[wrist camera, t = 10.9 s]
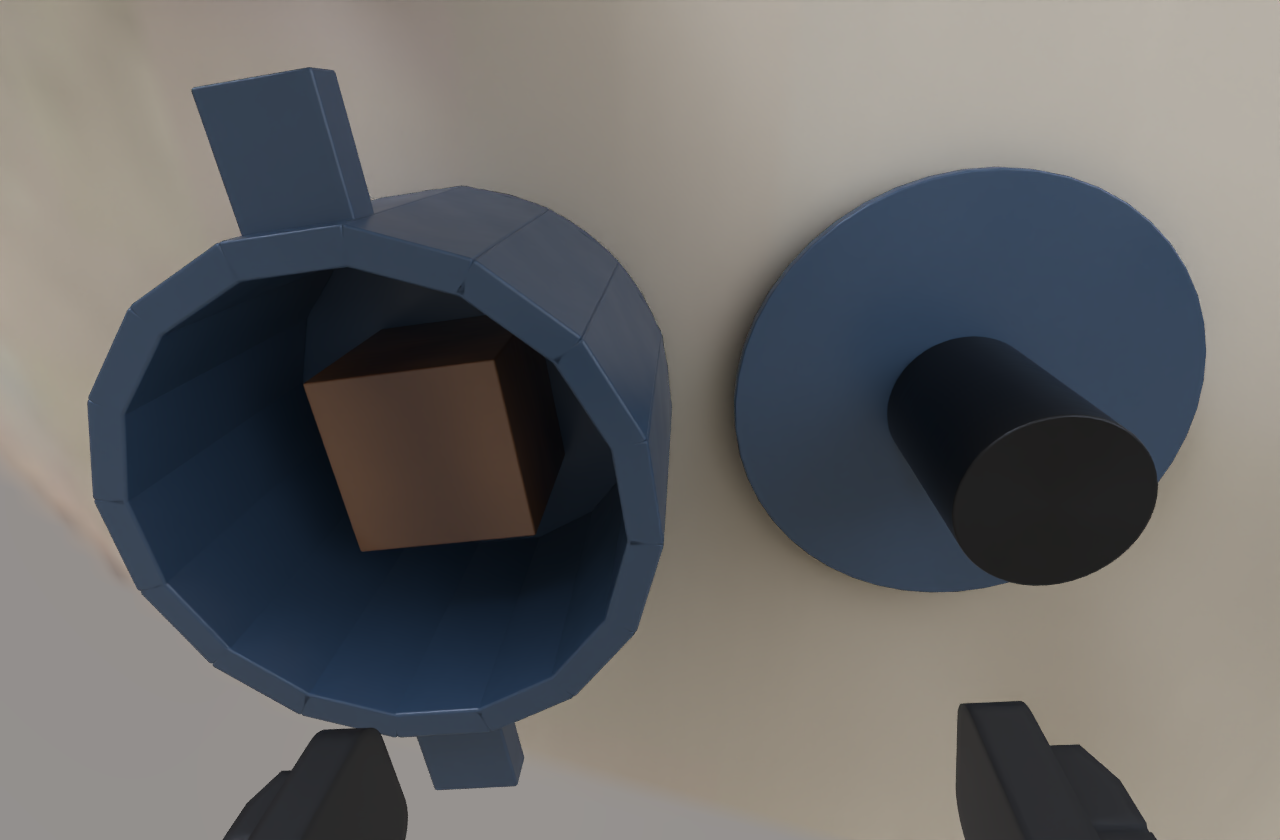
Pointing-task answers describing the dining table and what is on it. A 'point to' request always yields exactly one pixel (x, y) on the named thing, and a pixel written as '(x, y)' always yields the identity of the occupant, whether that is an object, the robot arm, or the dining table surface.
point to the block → (439, 434)
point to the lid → (972, 382)
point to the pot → (301, 471)
